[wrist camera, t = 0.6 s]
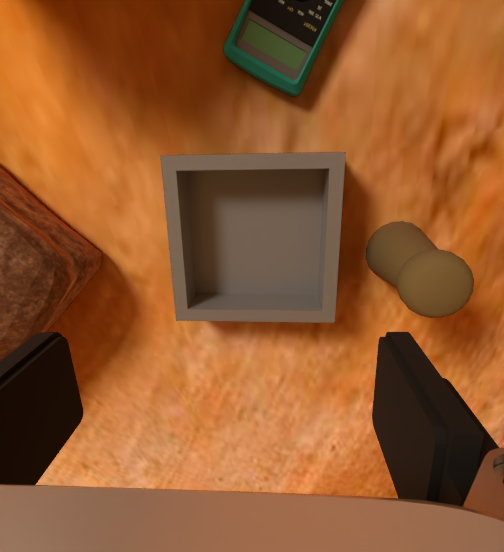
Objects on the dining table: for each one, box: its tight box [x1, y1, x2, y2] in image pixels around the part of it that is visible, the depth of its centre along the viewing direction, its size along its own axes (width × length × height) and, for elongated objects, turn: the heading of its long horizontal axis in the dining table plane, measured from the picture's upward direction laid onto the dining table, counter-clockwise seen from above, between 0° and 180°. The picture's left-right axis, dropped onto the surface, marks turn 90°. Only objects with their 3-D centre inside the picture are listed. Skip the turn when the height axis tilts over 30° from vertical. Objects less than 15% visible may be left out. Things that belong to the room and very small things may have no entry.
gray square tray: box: [161, 152, 346, 323], centre depth 34 cm, size 15×15×5 cm
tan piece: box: [366, 221, 474, 318], centre depth 31 cm, size 6×6×11 cm
